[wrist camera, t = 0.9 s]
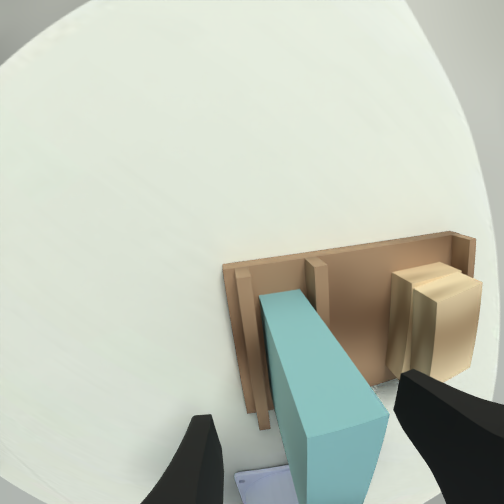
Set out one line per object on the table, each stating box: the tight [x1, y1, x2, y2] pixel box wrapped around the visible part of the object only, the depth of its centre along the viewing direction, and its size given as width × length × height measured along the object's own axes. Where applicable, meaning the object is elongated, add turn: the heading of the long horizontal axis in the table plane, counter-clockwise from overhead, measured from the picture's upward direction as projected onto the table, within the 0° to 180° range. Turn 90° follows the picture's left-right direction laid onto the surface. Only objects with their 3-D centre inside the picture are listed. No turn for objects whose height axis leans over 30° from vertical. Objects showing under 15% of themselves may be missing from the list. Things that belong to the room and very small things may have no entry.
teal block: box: [259, 289, 390, 504], centre depth 11 cm, size 6×2×9 cm, turn 7°
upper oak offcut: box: [410, 272, 482, 382], centre depth 12 cm, size 5×3×2 cm, turn 12°
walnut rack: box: [223, 231, 476, 430], centre depth 15 cm, size 9×14×3 cm, turn 97°
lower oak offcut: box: [385, 262, 462, 380], centre depth 14 cm, size 6×4×2 cm, turn 7°
